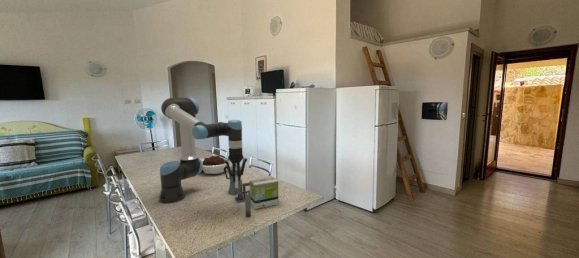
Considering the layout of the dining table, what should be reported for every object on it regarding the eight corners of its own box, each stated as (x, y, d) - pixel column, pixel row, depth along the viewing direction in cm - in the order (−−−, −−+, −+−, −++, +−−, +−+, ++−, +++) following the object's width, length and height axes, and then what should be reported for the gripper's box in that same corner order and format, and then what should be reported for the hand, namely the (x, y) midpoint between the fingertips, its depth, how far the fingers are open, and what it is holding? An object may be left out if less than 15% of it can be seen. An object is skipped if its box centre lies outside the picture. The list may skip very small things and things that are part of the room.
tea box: (255, 210, 142) (254, 185, 140) (249, 203, 151) (248, 180, 149) (279, 204, 149) (278, 180, 147) (272, 198, 158) (271, 176, 156)
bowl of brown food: (210, 167, 229) (209, 151, 227) (234, 169, 223) (234, 153, 221) (193, 176, 205) (192, 158, 203) (220, 178, 199) (219, 160, 197)
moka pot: (242, 195, 163) (241, 166, 160) (221, 194, 166) (219, 165, 163) (247, 190, 172) (246, 162, 170) (227, 189, 175) (226, 161, 173)
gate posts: (243, 218, 133) (242, 195, 131) (234, 199, 157) (233, 179, 156) (254, 216, 135) (253, 193, 133) (244, 197, 160) (243, 178, 158)
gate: (269, 192, 165) (269, 179, 163) (243, 197, 156) (243, 184, 155) (268, 191, 166) (268, 178, 165) (242, 196, 157) (242, 183, 156)
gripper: (224, 149, 134) (226, 191, 137) (248, 147, 139) (249, 188, 142) (222, 146, 141) (224, 186, 144) (245, 145, 145) (246, 183, 149)
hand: (236, 187), depth 143 cm, fingers closed
